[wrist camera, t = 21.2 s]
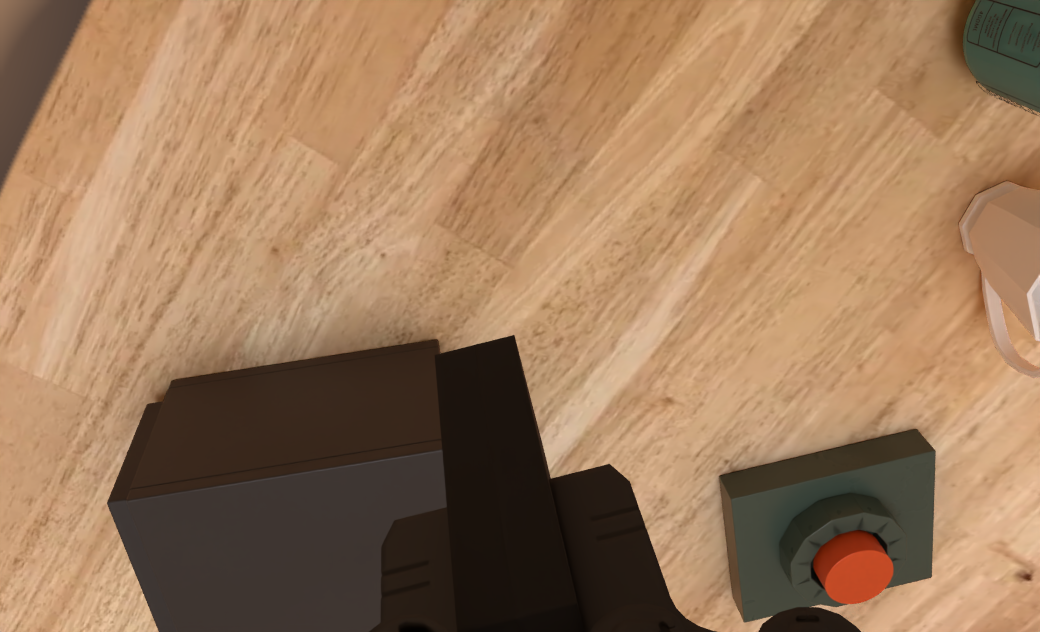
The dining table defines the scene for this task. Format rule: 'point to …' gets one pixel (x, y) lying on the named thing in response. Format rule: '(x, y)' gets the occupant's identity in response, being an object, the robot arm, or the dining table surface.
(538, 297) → the dining table surface
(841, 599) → the button
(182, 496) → the cabinet
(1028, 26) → the beverage bottle
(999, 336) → the cup
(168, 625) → the drawer
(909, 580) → the button block
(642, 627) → the robot arm
